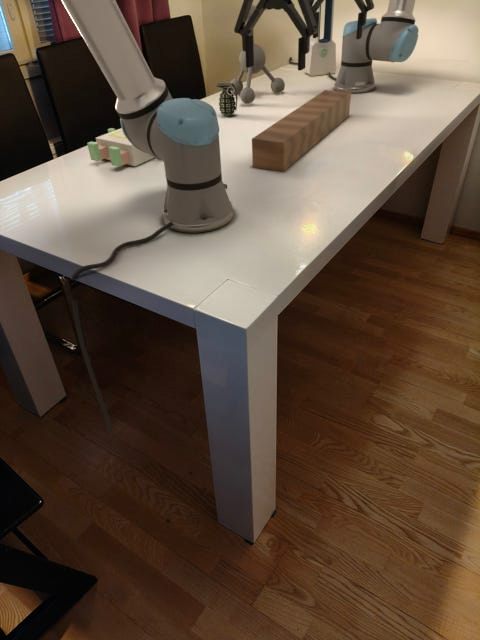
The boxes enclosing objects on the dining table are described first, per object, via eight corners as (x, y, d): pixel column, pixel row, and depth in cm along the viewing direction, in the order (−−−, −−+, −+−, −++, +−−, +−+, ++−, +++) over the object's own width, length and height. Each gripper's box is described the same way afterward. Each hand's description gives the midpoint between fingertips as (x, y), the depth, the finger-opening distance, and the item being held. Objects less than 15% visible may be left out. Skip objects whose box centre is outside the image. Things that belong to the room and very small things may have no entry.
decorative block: (141, 114, 152) (190, 122, 142) (145, 135, 156) (192, 145, 146) (76, 138, 136) (126, 149, 126) (82, 160, 140) (130, 173, 130)
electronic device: (309, 76, 211) (312, -7, 192) (303, 73, 216) (305, -8, 198) (336, 73, 213) (341, -10, 194) (329, 70, 219) (333, -11, 200)
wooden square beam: (283, 171, 126) (283, 142, 122) (252, 167, 130) (251, 138, 125) (349, 115, 162) (351, 91, 158) (323, 113, 166) (324, 90, 161)
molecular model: (298, 98, 182) (300, 3, 164) (243, 107, 176) (239, 9, 158) (272, 86, 199) (271, -1, 181) (221, 93, 194) (215, 4, 175)
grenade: (217, 117, 168) (214, 86, 162) (221, 112, 172) (219, 82, 166) (235, 117, 166) (233, 86, 160) (239, 113, 171) (238, 82, 165)
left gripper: (336, -46, 101) (330, 67, 114) (232, -41, 111) (237, 62, 124) (323, -44, 96) (318, 74, 109) (215, -39, 106) (222, 68, 119)
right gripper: (391, -54, 131) (381, 36, 144) (305, -49, 141) (303, 35, 154) (384, -53, 126) (374, 41, 139) (295, -48, 136) (293, 38, 149)
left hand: (275, 68), depth 117 cm, fingers open, 13 cm apart
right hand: (336, 38), depth 147 cm, fingers open, 13 cm apart
